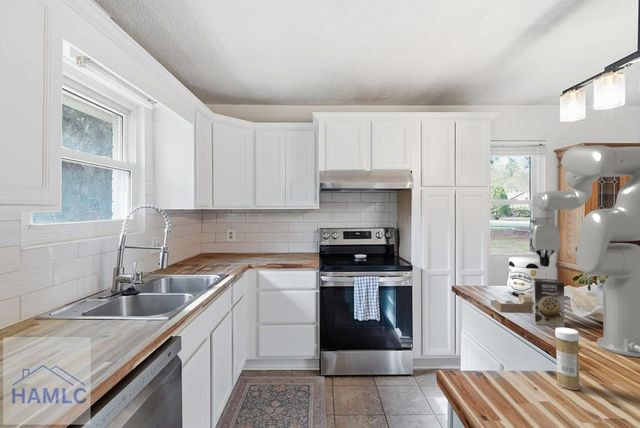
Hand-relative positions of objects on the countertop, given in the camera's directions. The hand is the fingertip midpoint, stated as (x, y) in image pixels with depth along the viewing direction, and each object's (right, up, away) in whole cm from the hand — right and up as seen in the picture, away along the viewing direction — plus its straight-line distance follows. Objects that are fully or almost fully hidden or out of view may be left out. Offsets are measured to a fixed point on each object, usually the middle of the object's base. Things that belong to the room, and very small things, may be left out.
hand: (544, 266), depth 138 cm
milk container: (+8, -19, +24) cm, 32 cm away
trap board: (-11, -19, +3) cm, 22 cm away
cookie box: (-9, -19, -16) cm, 26 cm away
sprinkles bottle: (-34, -20, -59) cm, 71 cm away
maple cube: (-7, -17, +1) cm, 18 cm away
